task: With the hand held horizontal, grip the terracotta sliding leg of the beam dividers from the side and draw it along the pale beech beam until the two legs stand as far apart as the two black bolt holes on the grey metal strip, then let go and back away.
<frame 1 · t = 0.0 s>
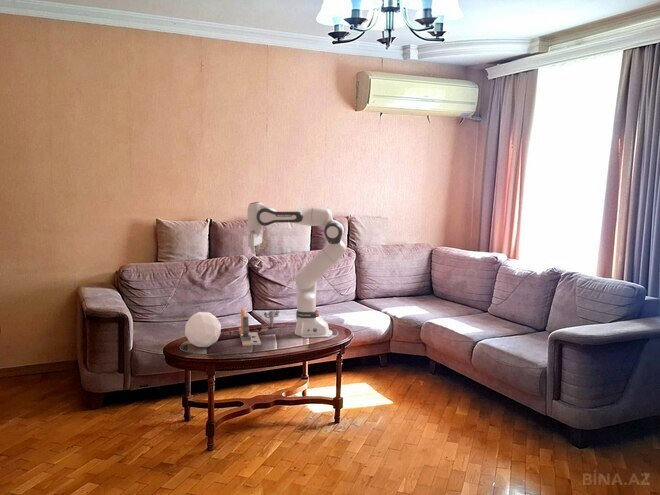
hand: (255, 252, 347), 48 cm above the table, tool pointing down, fingers open, 8 cm apart
dividers beam: (244, 340, 334), on the table
bolt hole strip: (253, 339, 335), on the table
geometric polyhedron: (203, 346, 322), on the table
mechanical component: (271, 327, 364), on the table
sliding leg: (243, 321, 340), point 9 cm above the table, slide at 0.0 cm
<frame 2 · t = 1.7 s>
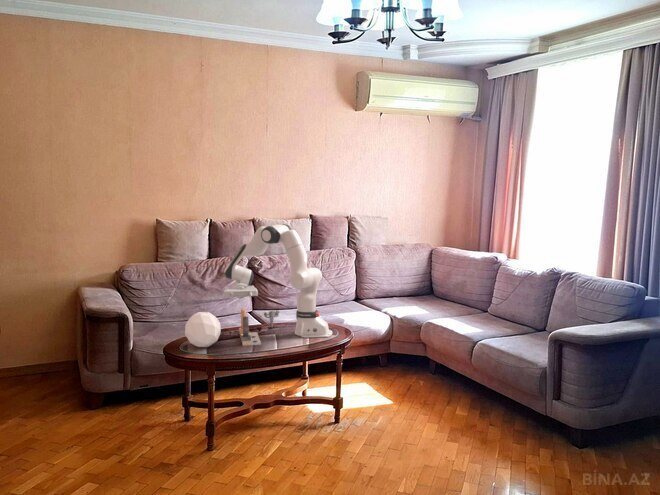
hand: (241, 295, 350), 22 cm above the table, tool horizontal, fingers open, 8 cm apart
nothing on the table moved.
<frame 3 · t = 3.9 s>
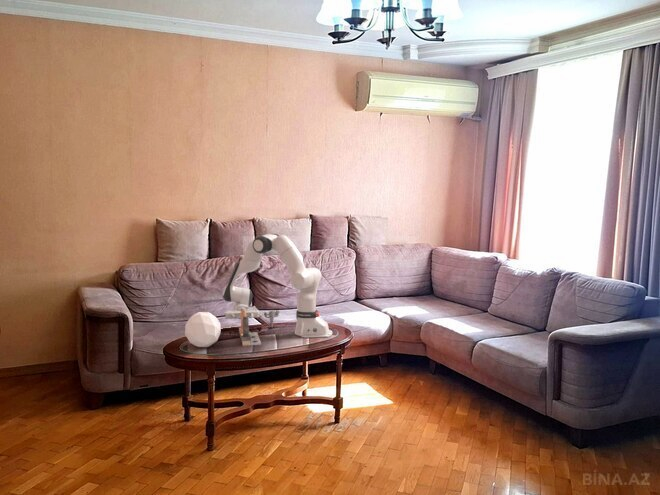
hand: (242, 317, 347), 10 cm above the table, tool horizontal, fingers open, 8 cm apart
nothing on the table moved.
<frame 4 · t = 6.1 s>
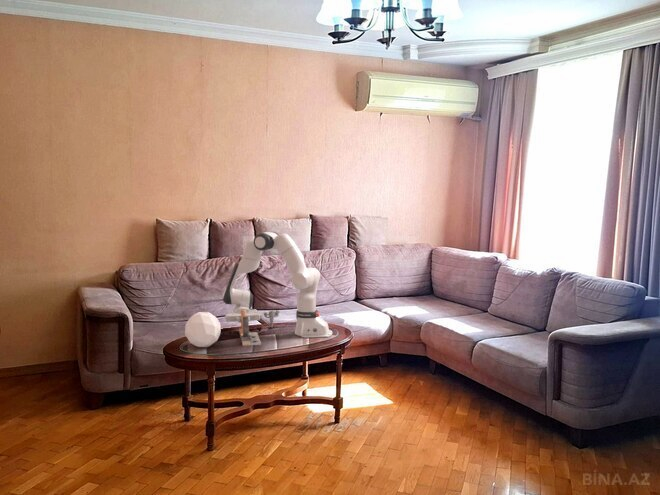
hand: (243, 320, 339), 10 cm above the table, tool horizontal, fingers closed on sliding leg, 3 cm apart
sliding leg: (243, 321, 340), point 9 cm above the table, slide at 0.0 cm, touching gripper
everything else where it was.
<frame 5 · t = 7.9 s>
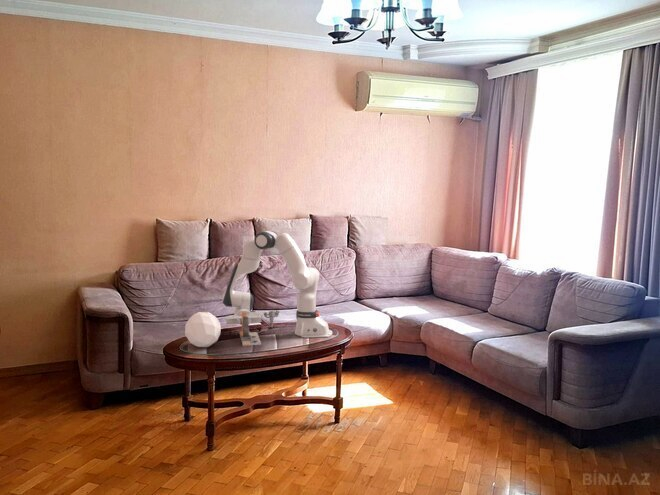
hand: (244, 322, 334), 10 cm above the table, tool horizontal, fingers closed on sliding leg, 3 cm apart
sliding leg: (244, 323, 335), point 9 cm above the table, slide at 5.9 cm, touching gripper
everything else where it was.
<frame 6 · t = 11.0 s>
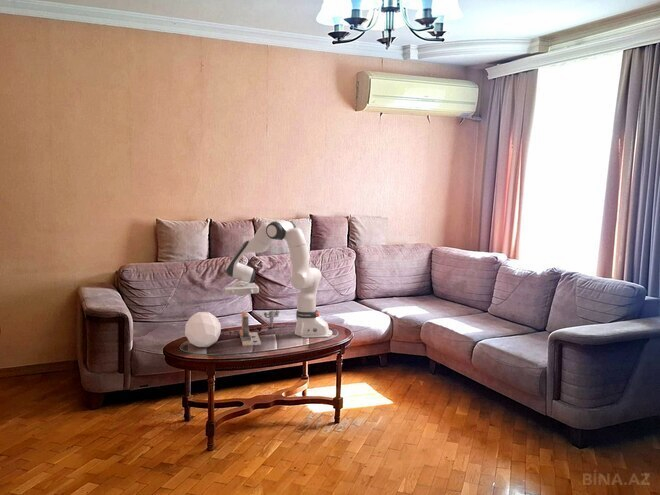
hand: (242, 292, 344), 25 cm above the table, tool horizontal, fingers open, 8 cm apart
sliding leg: (244, 323, 335), point 9 cm above the table, slide at 5.9 cm
everything else where it was.
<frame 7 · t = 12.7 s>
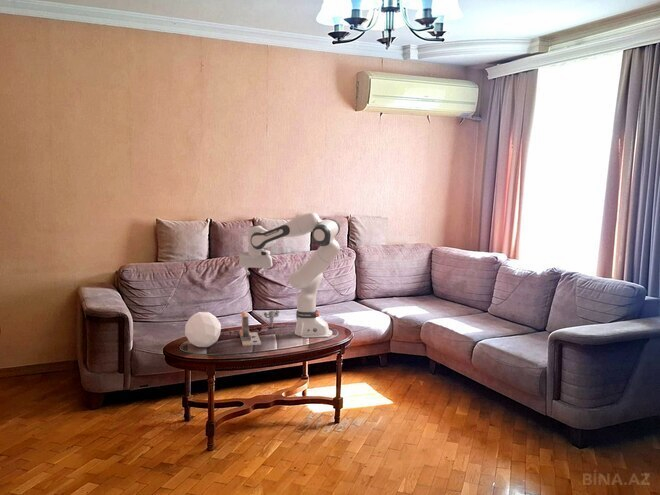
hand: (255, 274, 355), 34 cm above the table, tool pointing down, fingers open, 8 cm apart
nothing on the table moved.
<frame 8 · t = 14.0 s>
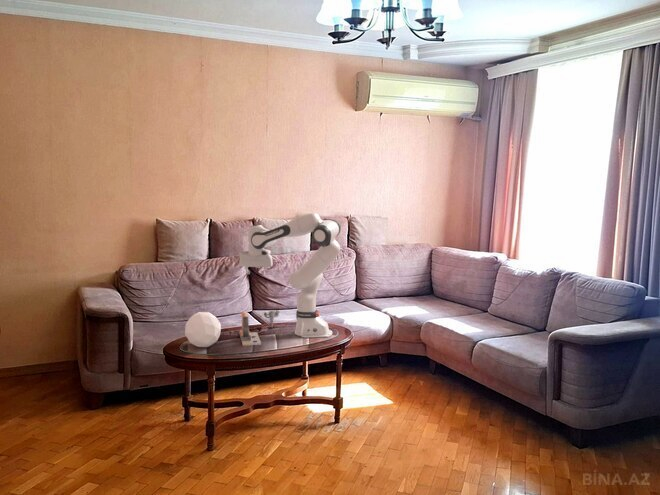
hand: (256, 274, 355), 34 cm above the table, tool pointing down, fingers open, 8 cm apart
nothing on the table moved.
at the end: sliding leg slide at 5.9 cm; the gripper is holding nothing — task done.
